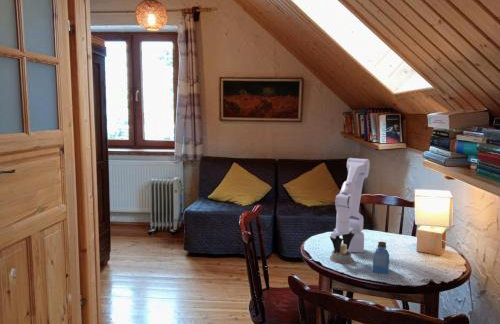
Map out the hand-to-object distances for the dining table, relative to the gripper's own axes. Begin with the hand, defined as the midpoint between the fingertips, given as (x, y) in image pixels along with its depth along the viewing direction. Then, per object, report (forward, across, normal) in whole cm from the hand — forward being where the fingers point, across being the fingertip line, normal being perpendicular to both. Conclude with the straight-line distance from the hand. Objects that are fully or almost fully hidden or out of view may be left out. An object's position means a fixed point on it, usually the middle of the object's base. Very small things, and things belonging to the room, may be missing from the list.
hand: (341, 250), depth 182 cm
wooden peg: (+3, 0, 0) cm, 3 cm away
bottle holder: (+4, 0, 0) cm, 4 cm away
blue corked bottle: (+4, -1, +18) cm, 19 cm away
